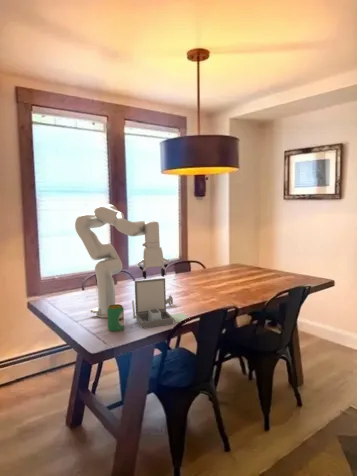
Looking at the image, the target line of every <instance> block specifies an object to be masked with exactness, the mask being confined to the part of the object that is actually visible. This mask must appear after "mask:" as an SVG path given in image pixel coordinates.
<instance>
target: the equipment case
mask: <svg viewBox="0 0 357 476" xmlns="http://www.w3.org/2000/svg"><path fill="white" fill-rule="evenodd" d="M134 297H135V298H134V299H132V300H131V304H132V313H133V314H132V318H133V319H135V320H136V321H137V323H138V324H139V326H140V328H141V329H147V328H154V327H156V328H157V327H161V326H169V325H175V320H174V318H173V317H172V316H171V314H170V313H169V311H167V304H166V299H167V297H166V277H162V278H161V277H160V278H152V279H151V278H150V279H141V280H140V279H139V280H134ZM150 309H158V310H159V311H160V312H161V320H153V321H149V320H148V310H150ZM162 318H163V319H162ZM143 320H147V321H143Z"/></svg>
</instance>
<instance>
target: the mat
mask: <svg viewBox="0 0 357 476" xmlns="http://www.w3.org/2000/svg"><path fill="white" fill-rule="evenodd" d="M170 315H171V316H172V317H173V318H174V322H176V323H177V324H178V323H182V322H181V321H182V320H184V319H186V318H189V317H188V316H187V315H186V314H185V313H183V312H180V313H174V314H173V313H172V314H170Z"/></svg>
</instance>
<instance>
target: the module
mask: <svg viewBox="0 0 357 476" xmlns="http://www.w3.org/2000/svg"><path fill="white" fill-rule="evenodd" d="M161 319H162V317H161V312H160V311H159V310H158V309H150V310H148V319H147V321H153V320H161Z"/></svg>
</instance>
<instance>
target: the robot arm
mask: <svg viewBox="0 0 357 476" xmlns="http://www.w3.org/2000/svg"><path fill="white" fill-rule="evenodd" d="M107 224H108V225H111V226H113V227H115V229H116V230H117V231H118V232H120V233H122V234H124V235H126V236H129V237H139V236H140V237H141V236H144V243H142V247H145V248H143V256H142V259H141V260H140V261H138V262H137V263H136V265H137V267H138V268H139V269H140V270H141V271H142V277H143V280H147V271H146V270H147V269H148V268H149V269H150V268H161V269H160V275H161V277H162V278H165V276H166V268H167V267H168V266H169V263H170V260H169V259H166V258H164V254H163V249H162V246H161V245H160V242H161V241H160V224H159V222H158V221H145V220H141V221H131V220H127V219H126V218H125V215H124V213H123V212H122V211H119V210H118V209H117V207H116V206H115V205H113V204H102V205H98V206H96V207H95V208H94V213H93V212H92V213H83V214H79V215H78V217H76V219H75V221H74V228H75V232H76V234H77V235H78V237H79V238H80V239H81V241H82V243H83V245H84V248H85V249H86V251H87V253H88V255H89V256H90V258H91V260H93V261H98V262H97V263H96V264H95V266H94V272H95V276H96V281H97V283H96V284H97V297H98V299H97V300H98V306H97V307H96V308H90V310H89V311H90V313H92V314H95V315H96V317H98V318H101V319H102V318H104V319H105V318H106V319H108V311H107V309H108V307H109V306H110V305H114V304H116V289H115V288H116V287H115V286H116V285H115V280H114V278H113V276H114V275H117V274H120V273H121V271H122V270H123V262H122V260H121V258H120V256H119V254H118V252H117V250H116V248H115V247H114V246H113V245H112V244H111V243H110V242H107V241H103V242H101V241H100V240H99V237H98V236H97V234H96V233H95V232H94V231H93V230H91V229H96V228H101V227H103V226H105V225H107ZM164 262H165V263H164ZM141 264H143V266H142V265H141Z"/></svg>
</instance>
